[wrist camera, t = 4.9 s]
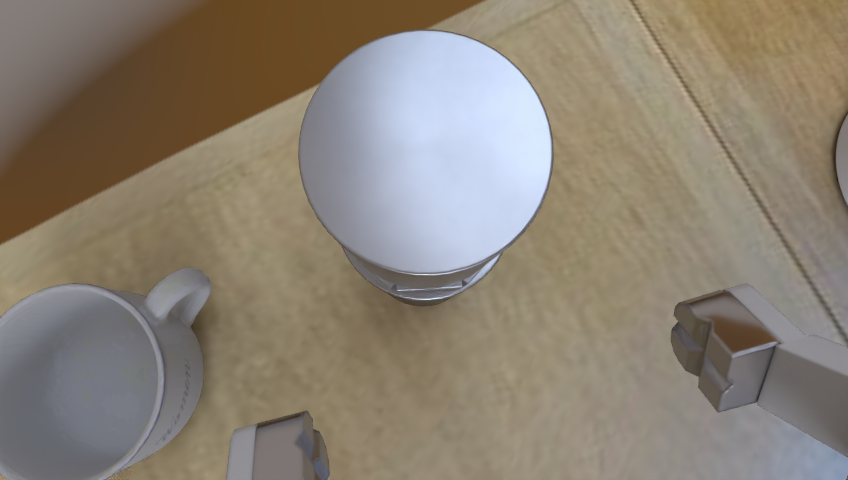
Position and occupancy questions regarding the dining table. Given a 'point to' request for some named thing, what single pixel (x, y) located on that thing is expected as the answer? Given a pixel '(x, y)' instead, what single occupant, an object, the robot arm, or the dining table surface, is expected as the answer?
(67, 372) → the teacup
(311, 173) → the silver metal cylinder
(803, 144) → the dining table surface
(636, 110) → the dining table surface
